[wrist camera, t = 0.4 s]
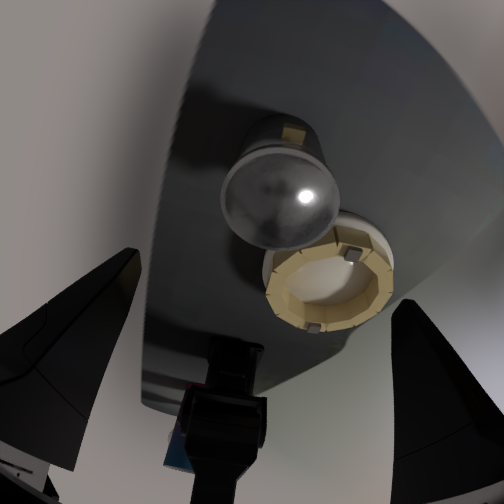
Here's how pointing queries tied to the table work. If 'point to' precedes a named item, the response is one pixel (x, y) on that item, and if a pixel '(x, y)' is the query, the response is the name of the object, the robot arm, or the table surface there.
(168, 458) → the cup
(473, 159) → the table surface
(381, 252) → the ring
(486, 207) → the table surface
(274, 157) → the bayonet cap
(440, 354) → the robot arm
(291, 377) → the table surface
